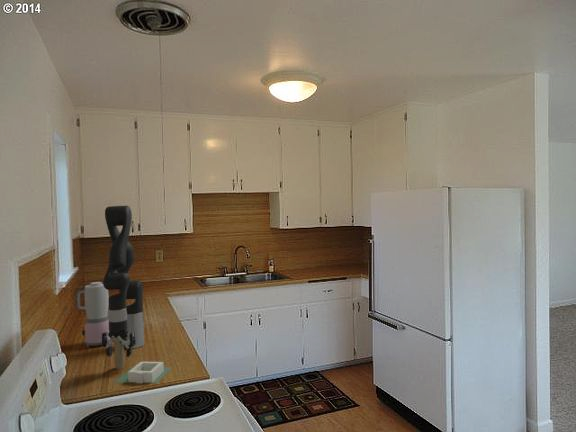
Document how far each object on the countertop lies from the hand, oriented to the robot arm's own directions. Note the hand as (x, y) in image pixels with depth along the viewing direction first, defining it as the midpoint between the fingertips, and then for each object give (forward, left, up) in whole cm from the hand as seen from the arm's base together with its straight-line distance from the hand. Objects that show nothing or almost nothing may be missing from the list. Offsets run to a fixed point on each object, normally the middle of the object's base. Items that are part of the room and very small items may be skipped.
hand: (119, 356), depth 181 cm
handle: (0, 0, -6) cm, 6 cm away
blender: (-32, -31, -7) cm, 45 cm away
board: (+6, +14, -6) cm, 16 cm away
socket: (+8, +16, -5) cm, 19 cm away
